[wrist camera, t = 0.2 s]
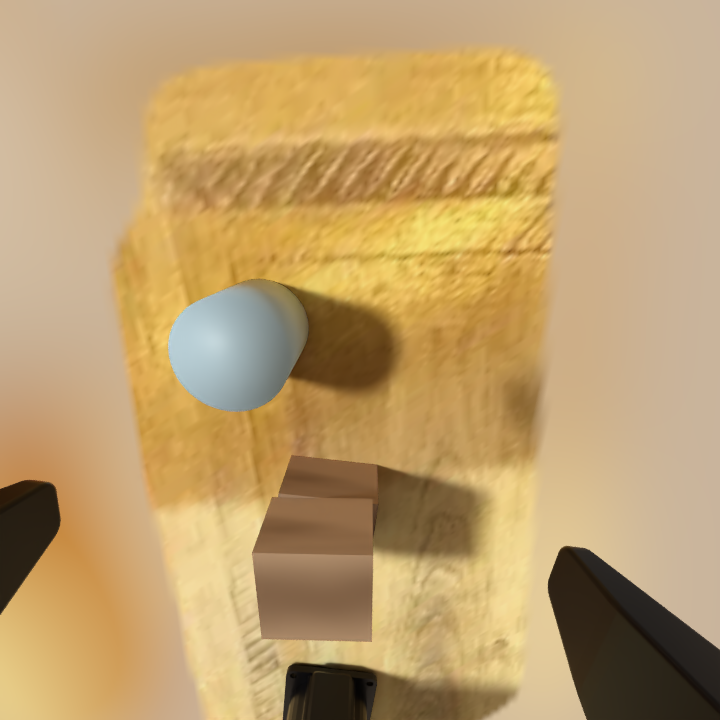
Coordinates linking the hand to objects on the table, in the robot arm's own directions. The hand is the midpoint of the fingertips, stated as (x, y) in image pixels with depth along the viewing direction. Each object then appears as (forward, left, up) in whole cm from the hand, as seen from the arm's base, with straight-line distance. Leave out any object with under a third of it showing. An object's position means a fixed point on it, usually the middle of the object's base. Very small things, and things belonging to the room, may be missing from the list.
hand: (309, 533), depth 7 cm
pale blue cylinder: (0, +5, -14) cm, 15 cm away
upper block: (-10, 0, -10) cm, 15 cm away
